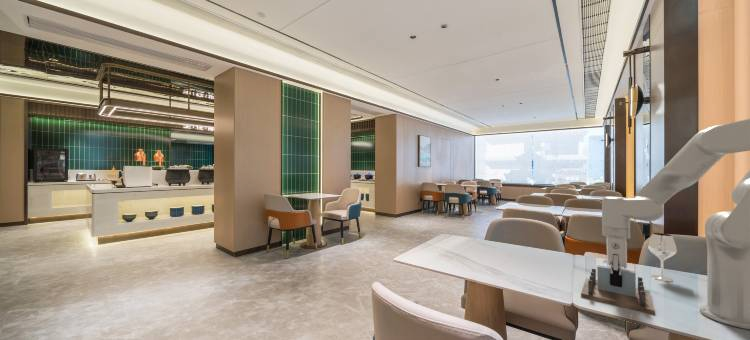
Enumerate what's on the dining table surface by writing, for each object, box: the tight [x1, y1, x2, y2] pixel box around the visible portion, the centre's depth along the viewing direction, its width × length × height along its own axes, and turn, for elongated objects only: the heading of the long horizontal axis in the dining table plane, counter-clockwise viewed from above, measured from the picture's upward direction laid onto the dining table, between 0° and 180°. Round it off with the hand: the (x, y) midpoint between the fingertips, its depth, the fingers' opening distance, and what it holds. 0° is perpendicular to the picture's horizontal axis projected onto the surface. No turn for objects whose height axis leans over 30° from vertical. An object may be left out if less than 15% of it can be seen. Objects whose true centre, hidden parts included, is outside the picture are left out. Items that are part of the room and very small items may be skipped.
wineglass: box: [647, 232, 678, 282], centre depth 114 cm, size 8×8×18 cm
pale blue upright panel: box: [596, 265, 637, 297], centre depth 98 cm, size 10×2×8 cm, turn 49°
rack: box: [580, 268, 655, 315], centre depth 98 cm, size 18×19×6 cm
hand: (616, 284), depth 98 cm, fingers closed on pale blue upright panel, 2 cm apart
